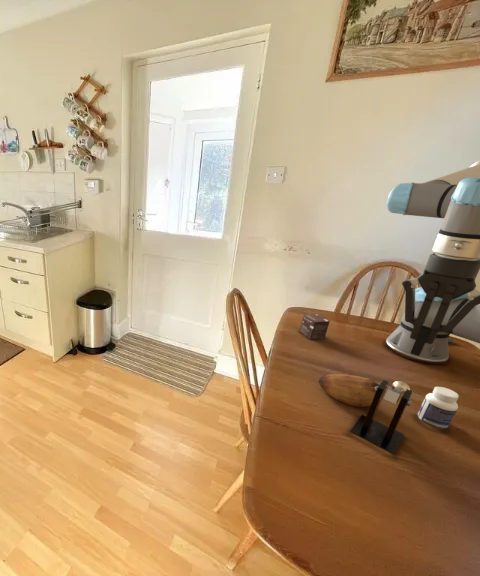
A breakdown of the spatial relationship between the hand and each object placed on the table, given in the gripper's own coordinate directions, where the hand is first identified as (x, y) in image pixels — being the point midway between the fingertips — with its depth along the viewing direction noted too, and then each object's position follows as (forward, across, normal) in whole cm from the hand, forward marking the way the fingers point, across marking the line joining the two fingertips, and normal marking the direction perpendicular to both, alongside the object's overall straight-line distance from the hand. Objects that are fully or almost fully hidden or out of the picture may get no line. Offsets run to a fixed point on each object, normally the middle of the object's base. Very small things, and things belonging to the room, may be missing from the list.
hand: (415, 352), depth 73 cm
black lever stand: (+19, 0, -12) cm, 22 cm away
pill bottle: (+19, +7, +4) cm, 21 cm away
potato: (+19, -9, -4) cm, 21 cm away
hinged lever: (+10, 0, -7) cm, 12 cm away
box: (+19, -29, +29) cm, 45 cm away
